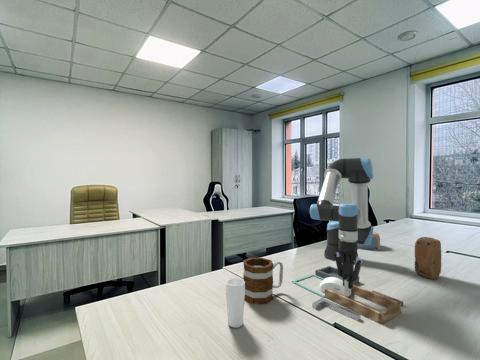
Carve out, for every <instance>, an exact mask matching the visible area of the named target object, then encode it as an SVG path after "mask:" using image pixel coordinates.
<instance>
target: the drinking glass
mask: <svg viewBox="0 0 480 360" xmlns="http://www.w3.org/2000/svg"><path fill="white" fill-rule="evenodd" d="M225 297H226V300H225V301H226V307H227V308H226V310H227V324H228V326H229V327H231V328H234V329H235V328H241V327H242V326H243V325H244V312H245V302H246V301H245V281H244V280H243V278H237V277H235V278H234V277H233V278H230V279H228V280H226V282H225Z"/></svg>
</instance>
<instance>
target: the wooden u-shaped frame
mask: <svg viewBox="0 0 480 360" xmlns="http://www.w3.org/2000/svg"><path fill="white" fill-rule="evenodd" d="M351 294H353V295H354V296H356V297H359V298H362V299H365V300H367V301H369V302H372V303H374V304H376V305H379V306H382V307H384V308H385V309H383V310H382V311H378V310H377V309H374V308H372V307H370V306H367V305H365V304H362V303H360V302H359V301H356V300H353V299H351V298H349V297H345V296H343V295H340V294H338V293H336V292H333V291H331V290H329V289H325V292H324V296H325V297H324V299H326V300H329V301H331V302H333V303H335V304H337V305H340V306H342V307H344V308H346V307H347V309H348V308H349V310H350V309H351V311H354V312H356V313H358V314H361V315H362V316H363V317H365V318H368V319H369V318H370V320H371V319H372V321H373V320H374V322H376V323H378V324H379V325H384V324H385V323H387V322H388V321H390V320H391V319H393V318H394V317H396V316H397V315H399V314H401V313H402V306H401V303H399V302H397V301H394V300H392V299H389V298H386V297H384V296H381V295H379V294H376V293H373V292H372V290H367V289H365V288H363V287H360V286H358V285H356V284H354V285H353V288H352V289H351Z"/></svg>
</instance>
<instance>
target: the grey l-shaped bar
mask: <svg viewBox="0 0 480 360" xmlns="http://www.w3.org/2000/svg"><path fill="white" fill-rule="evenodd" d="M311 305H312V306H311V307H313V308H312V309H314V308H315V309H314V310H318V309H319V308H321V307H323V306H324V305H325V307H326V306H327V307H326V308H328V307H329V309H331V308H332V309H331V310H333V309H334V310H333V311H335V310H337V311H339V312H341V313H340V314H342V313H343V314H342V315H344V314H345V315H344V316H346V315H348V316H350V317H352V318H351V319H353V318H354V319H353V320H355V319H356V320H355V321H357V320H359V321H360V320H361V314H359V313H357V312H355V311H353V310H350V309H348V308H346V307H344V306H342V305H340V304H338V303H336V302H334V301H331V300H329V299H327V298H323V297H321V298H319V299H317V300H315V301H313V302H312V304H311ZM322 305H323V306H322ZM320 306H321V307H320ZM317 308H318V309H317ZM337 311H336V312H337ZM339 312H338V313H339ZM348 316H347V317H348ZM350 317H349V318H350Z"/></svg>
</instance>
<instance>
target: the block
mask: <svg viewBox="0 0 480 360" xmlns="http://www.w3.org/2000/svg"><path fill="white" fill-rule="evenodd" d="M441 243H442V242H441V240H439V239H435V238H433V237H428V236H422V237H419V238H417V239H416V241H415V242H414V272H415V273H416V274H418V275H420V276H422V277H424V278H427V279H429V280H437V279H439V277H440V275H441V272H442V244H441Z"/></svg>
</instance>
